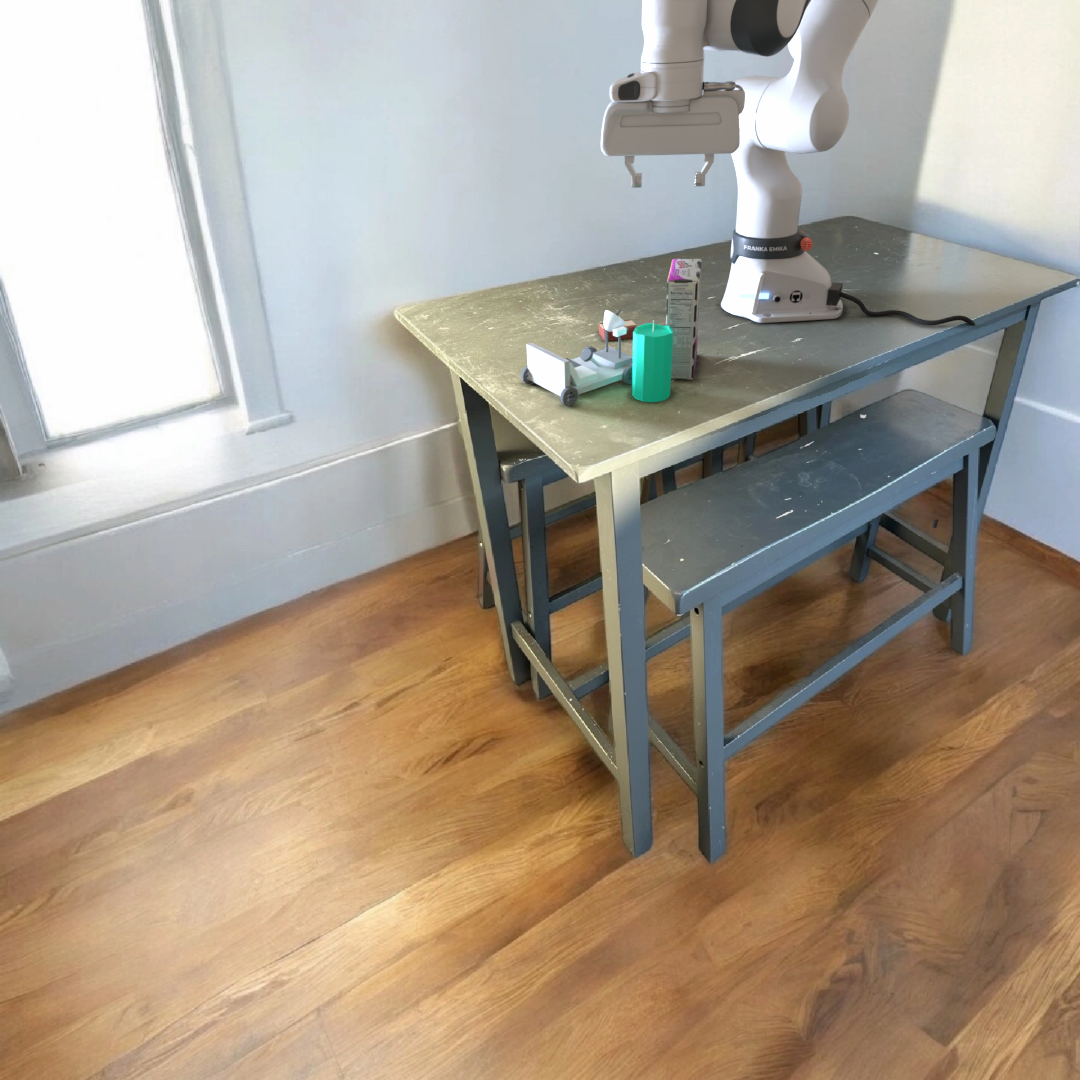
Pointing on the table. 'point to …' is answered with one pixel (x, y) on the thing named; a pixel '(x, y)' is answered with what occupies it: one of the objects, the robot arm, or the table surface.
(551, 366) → the toy car
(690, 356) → the candy bar box
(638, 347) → the candle
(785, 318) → the robot arm
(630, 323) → the matchbox
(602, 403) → the table surface
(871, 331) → the table surface
